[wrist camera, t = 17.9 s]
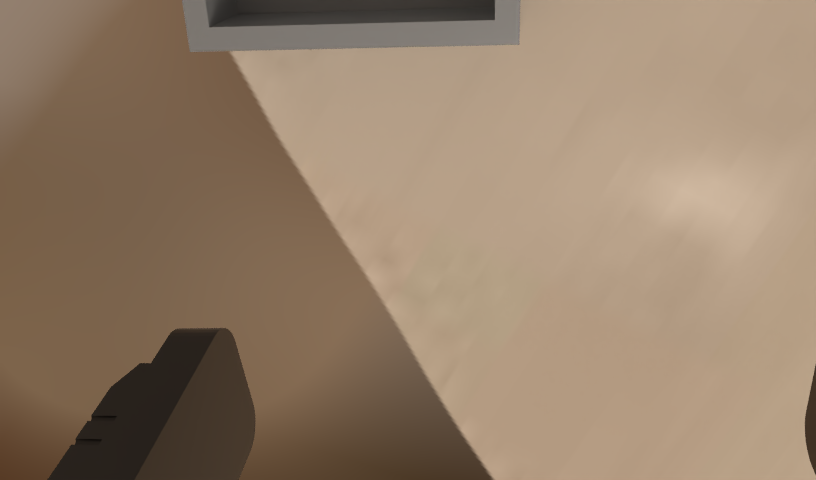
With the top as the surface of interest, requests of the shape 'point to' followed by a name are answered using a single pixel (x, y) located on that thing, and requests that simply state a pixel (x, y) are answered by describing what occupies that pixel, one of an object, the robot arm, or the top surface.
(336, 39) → the tote
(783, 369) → the top surface
